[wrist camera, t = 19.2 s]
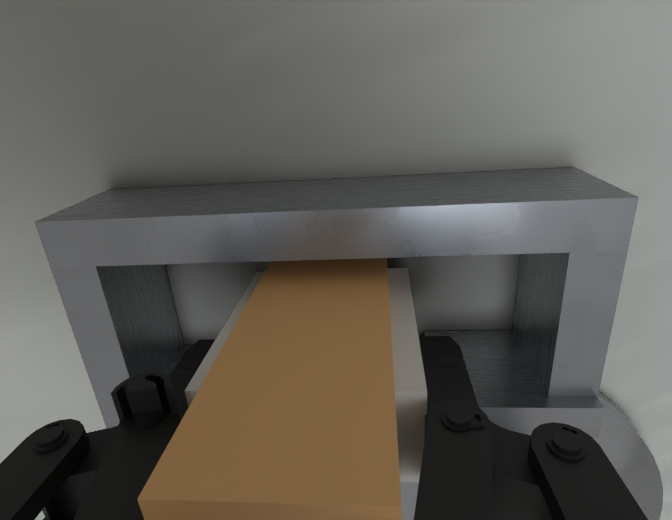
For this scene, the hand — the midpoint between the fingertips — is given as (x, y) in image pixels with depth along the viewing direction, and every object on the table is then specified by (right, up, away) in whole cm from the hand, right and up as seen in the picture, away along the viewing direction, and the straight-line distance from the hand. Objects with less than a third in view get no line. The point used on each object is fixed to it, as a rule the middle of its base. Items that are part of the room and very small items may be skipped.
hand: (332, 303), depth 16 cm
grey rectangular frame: (0, +1, +1) cm, 2 cm away
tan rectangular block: (0, 0, 0) cm, 0 cm away
